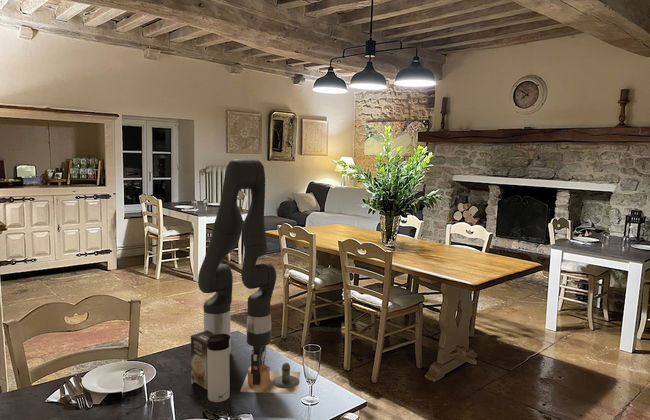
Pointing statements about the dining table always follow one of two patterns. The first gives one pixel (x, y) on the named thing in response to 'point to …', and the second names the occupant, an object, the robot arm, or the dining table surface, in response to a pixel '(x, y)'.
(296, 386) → the post board
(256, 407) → the dining table surface
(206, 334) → the coffee box
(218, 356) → the travel mug
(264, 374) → the ring
